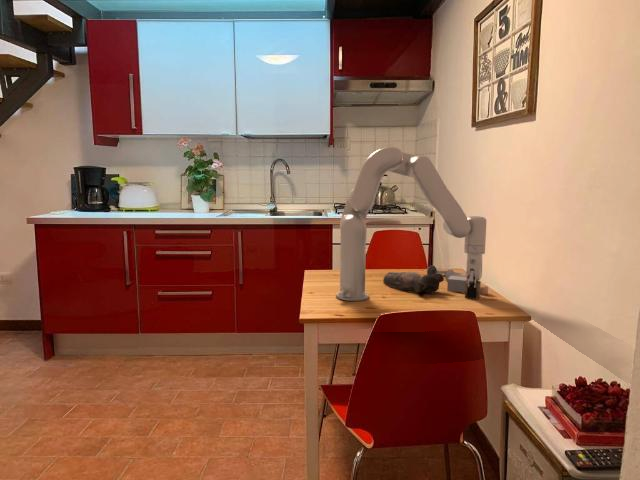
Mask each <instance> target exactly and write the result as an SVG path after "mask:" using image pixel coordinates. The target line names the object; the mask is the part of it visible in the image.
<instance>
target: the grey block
mask: <svg viewBox="0 0 640 480" xmlns="http://www.w3.org/2000/svg"><path fill="white" fill-rule="evenodd" d="M467 280H468V279H467V277H461V276H450V277H449V278H448V282H447V286H446V287H447V288H446V289H447V291H449V292H458V293H465V283H466V281H467Z"/></svg>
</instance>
